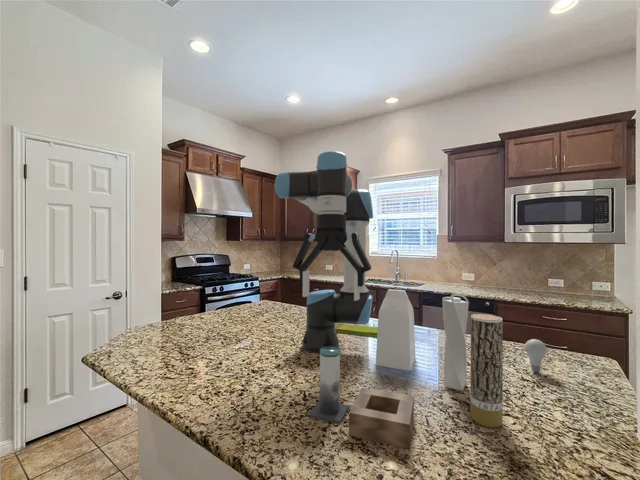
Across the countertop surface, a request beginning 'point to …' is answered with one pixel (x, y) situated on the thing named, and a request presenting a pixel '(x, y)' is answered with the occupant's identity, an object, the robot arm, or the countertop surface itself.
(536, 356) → the lightbulb
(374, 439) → the housing
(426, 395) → the countertop surface
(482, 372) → the bark-print cylinder
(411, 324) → the milk
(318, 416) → the mat
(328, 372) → the teal-capped metal cylinder
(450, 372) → the skyscraper
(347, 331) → the dish towel
